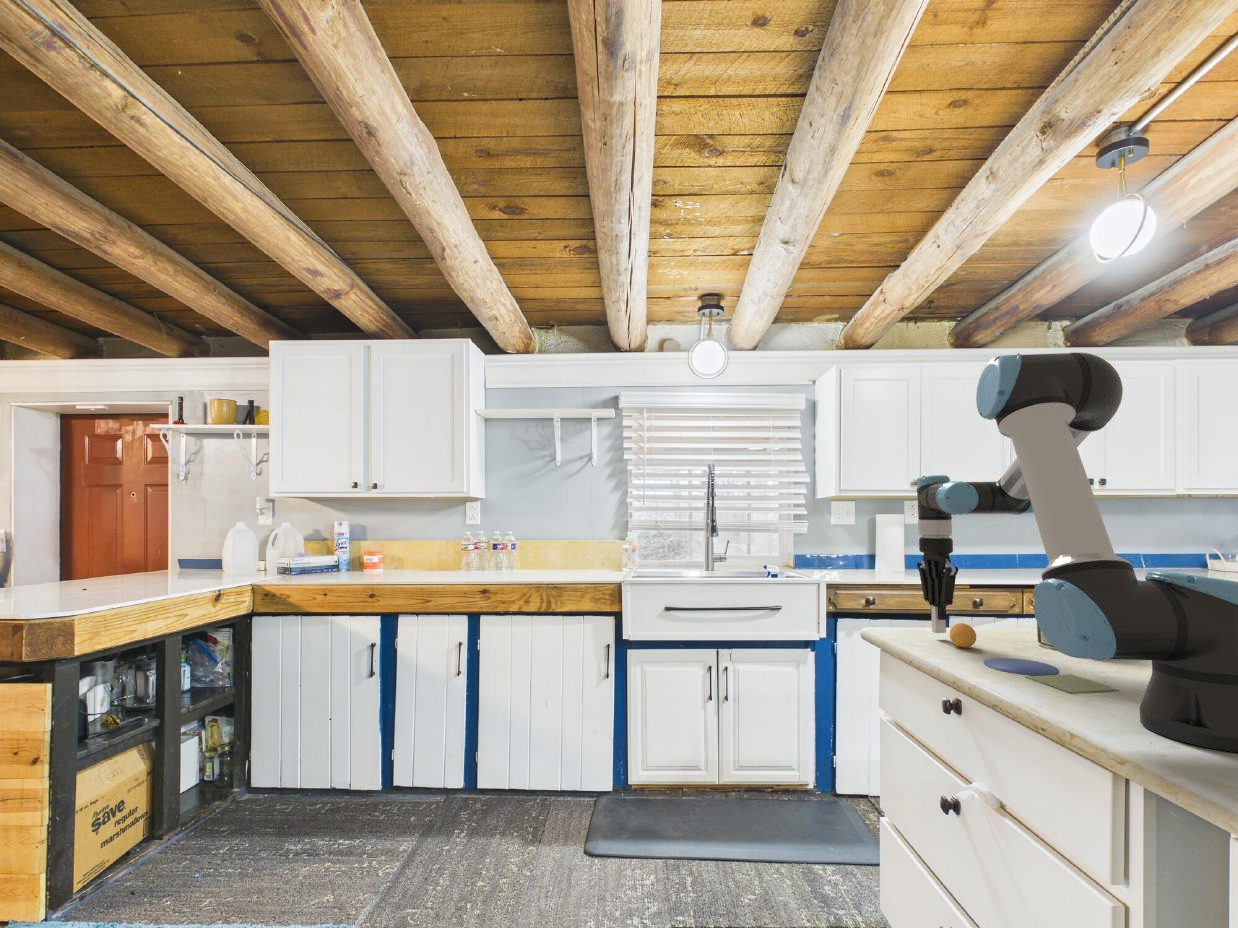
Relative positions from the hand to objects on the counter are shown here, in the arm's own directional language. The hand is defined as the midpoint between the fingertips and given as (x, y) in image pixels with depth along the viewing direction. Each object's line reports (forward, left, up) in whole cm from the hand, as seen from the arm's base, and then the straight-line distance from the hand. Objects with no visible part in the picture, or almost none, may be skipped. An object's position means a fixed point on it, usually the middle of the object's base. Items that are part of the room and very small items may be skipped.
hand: (939, 632), depth 151 cm
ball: (-8, -3, +1) cm, 9 cm away
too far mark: (-35, -13, -2) cm, 38 cm away
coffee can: (-3, -26, -2) cm, 26 cm away
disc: (-24, -9, -2) cm, 26 cm away
